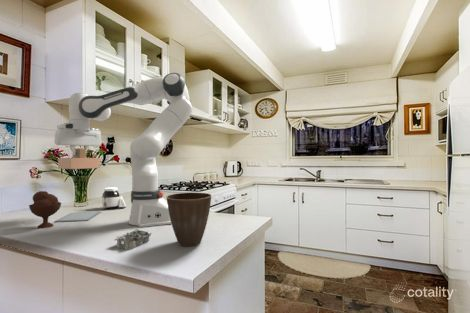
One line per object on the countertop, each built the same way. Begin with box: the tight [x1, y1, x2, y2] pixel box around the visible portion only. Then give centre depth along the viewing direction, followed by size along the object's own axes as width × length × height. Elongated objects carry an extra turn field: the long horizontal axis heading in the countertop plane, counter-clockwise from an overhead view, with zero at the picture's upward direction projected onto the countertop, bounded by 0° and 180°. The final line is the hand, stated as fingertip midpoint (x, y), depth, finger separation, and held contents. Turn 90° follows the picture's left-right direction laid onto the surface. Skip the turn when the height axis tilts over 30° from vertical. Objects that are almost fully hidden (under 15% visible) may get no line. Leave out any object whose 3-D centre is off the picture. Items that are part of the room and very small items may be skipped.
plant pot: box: [166, 192, 212, 248], centre depth 86 cm, size 15×15×16 cm
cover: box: [57, 148, 101, 170], centre depth 124 cm, size 13×13×10 cm
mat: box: [53, 211, 102, 223], centre depth 124 cm, size 14×18×1 cm
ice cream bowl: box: [28, 190, 62, 229], centre depth 107 cm, size 11×11×15 cm
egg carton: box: [114, 228, 152, 251], centre depth 85 cm, size 11×8×4 cm
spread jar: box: [101, 186, 127, 211], centre depth 145 cm, size 12×11×12 cm
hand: (79, 155), depth 124 cm, fingers closed on cover, 3 cm apart
